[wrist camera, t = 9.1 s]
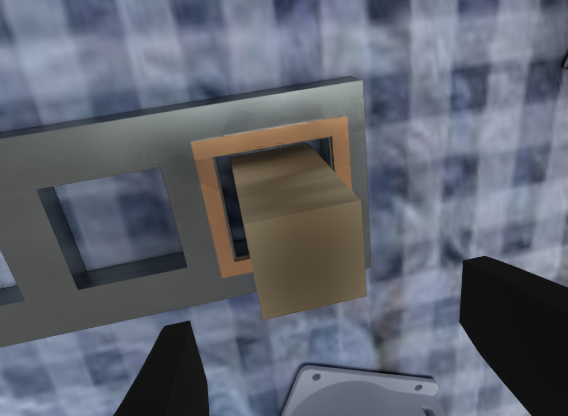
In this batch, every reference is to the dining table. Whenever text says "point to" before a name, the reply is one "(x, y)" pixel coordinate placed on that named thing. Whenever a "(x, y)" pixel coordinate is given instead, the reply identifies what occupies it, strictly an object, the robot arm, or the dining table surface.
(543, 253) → the dining table surface
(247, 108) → the gray peg hole board
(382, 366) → the dining table surface
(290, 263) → the birch peg
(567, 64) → the candy bar box
